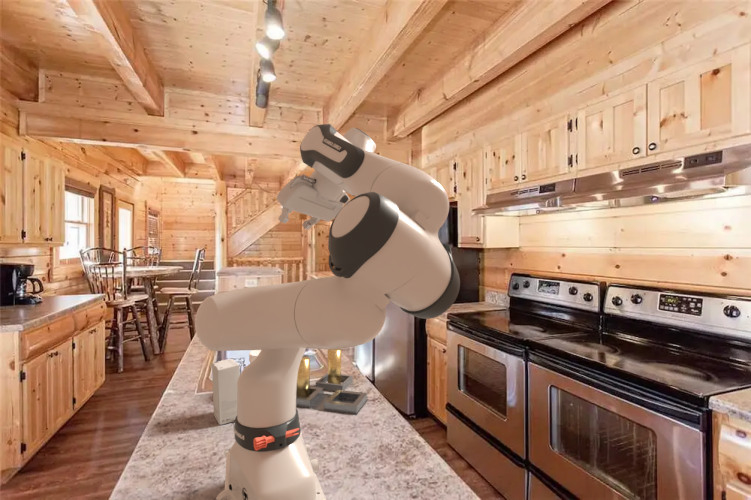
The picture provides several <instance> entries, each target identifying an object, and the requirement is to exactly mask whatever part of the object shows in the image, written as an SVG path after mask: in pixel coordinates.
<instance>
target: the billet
mask: <svg viewBox="0 0 751 500" xmlns="http://www.w3.org/2000/svg"><path fill="white" fill-rule="evenodd" d="M327 373H328V381H327V383H332V384H340V385H341V384H342V382H341V375H342V349H327Z"/></svg>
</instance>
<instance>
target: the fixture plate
mask: <svg viewBox="0 0 751 500" xmlns="http://www.w3.org/2000/svg"><path fill="white" fill-rule="evenodd" d="M324 392H325V390H324V388H320V387H316V386H311V385H310V396H309V397H307V398H306V397H298V396H296V408H300V409H308V410H313V411H323V412H329V413H336V414H344V415H350V416H351V415H352V416H358V415H359V413H360V411H362V409H363V408H364V406H365V405H366V403H367V402H368V401H369V398H368V393H367V392H360V391H353V390H346V389H345V390H336V391H333V393H324Z"/></svg>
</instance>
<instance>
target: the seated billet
mask: <svg viewBox="0 0 751 500" xmlns="http://www.w3.org/2000/svg"><path fill="white" fill-rule="evenodd" d="M310 364H311V358H310V357H309V356H303V357H302V359H301V362H300V366H299V370H298V375H297V390H296V396H298V397H306V398H307V397H309V396H310V386H311V381H310V379H311V375H310V374H311V371H310V370H311V365H310Z"/></svg>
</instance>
